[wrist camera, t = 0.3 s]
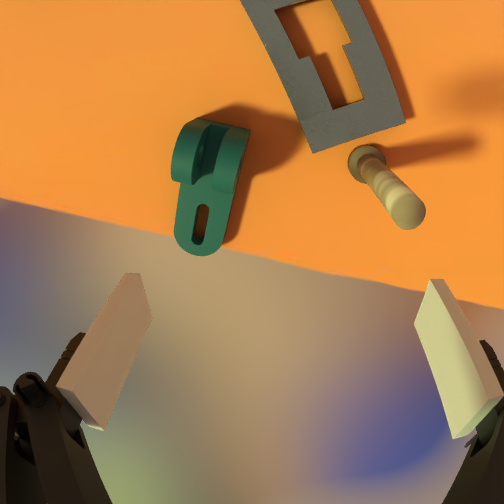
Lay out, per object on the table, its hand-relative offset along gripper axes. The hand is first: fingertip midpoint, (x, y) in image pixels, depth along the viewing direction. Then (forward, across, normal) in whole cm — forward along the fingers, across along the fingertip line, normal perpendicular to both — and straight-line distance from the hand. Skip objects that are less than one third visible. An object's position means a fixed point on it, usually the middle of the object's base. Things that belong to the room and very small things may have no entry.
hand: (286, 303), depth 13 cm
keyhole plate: (+27, +5, +12) cm, 30 cm away
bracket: (+27, -10, -4) cm, 29 cm away
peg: (+27, +10, 0) cm, 29 cm away
